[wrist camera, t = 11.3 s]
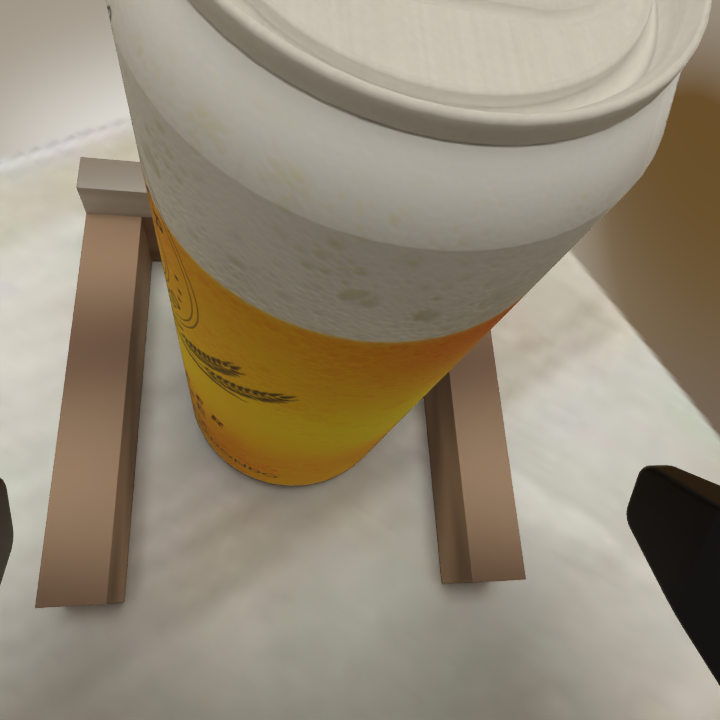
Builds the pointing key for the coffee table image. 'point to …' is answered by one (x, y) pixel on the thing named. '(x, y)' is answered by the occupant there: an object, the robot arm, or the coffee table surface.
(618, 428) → the coffee table surface
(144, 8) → the beer can
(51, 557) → the frame
